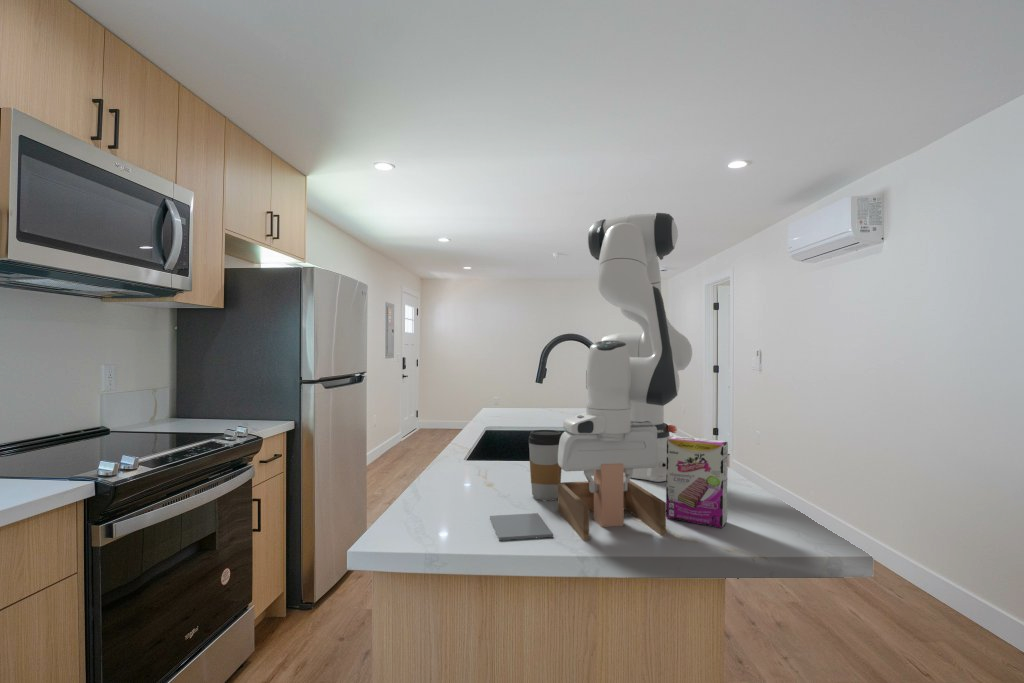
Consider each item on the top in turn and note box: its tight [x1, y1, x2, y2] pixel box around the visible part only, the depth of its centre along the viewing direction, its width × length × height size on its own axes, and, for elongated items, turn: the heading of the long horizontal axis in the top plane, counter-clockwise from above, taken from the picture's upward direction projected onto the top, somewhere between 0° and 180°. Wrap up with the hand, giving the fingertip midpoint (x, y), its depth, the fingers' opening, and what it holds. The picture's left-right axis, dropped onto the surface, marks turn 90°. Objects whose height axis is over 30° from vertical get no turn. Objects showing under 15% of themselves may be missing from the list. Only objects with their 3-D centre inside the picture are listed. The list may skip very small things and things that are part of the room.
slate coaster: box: [489, 512, 554, 541], centre depth 100 cm, size 10×12×1 cm
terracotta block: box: [593, 464, 624, 528], centre depth 103 cm, size 4×4×12 cm
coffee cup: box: [528, 429, 563, 501], centre depth 120 cm, size 8×8×15 cm
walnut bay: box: [557, 479, 667, 541], centre depth 103 cm, size 16×17×6 cm
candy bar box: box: [665, 435, 729, 529], centre depth 104 cm, size 11×5×16 cm, turn 58°
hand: (608, 491), depth 103 cm, fingers closed on terracotta block, 4 cm apart
